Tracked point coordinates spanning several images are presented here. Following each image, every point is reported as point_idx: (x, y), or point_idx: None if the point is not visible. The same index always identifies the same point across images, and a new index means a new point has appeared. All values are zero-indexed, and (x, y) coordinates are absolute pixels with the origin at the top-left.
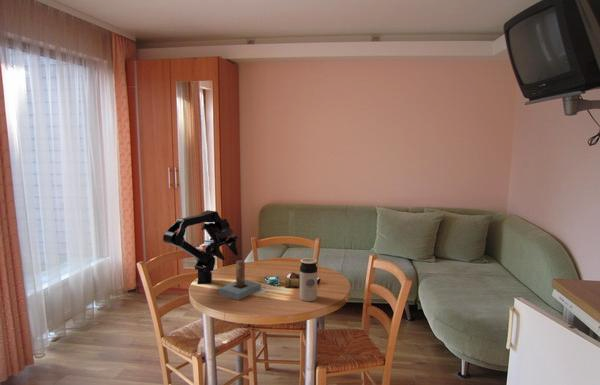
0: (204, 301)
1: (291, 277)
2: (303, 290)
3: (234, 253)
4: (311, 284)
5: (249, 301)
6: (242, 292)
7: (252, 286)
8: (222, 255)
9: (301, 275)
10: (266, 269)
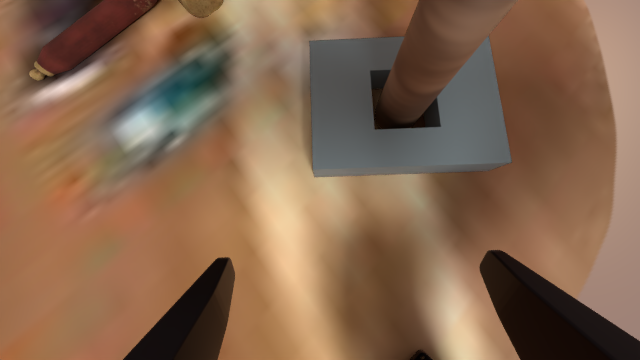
0: (594, 160)
1: (112, 26)
2: None
3: (222, 330)
4: None
5: None
6: None
7: (367, 47)
8: (562, 303)
9: None
10: (24, 252)
